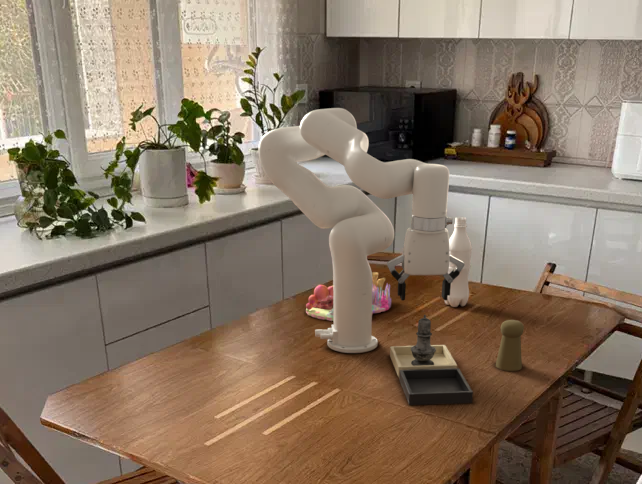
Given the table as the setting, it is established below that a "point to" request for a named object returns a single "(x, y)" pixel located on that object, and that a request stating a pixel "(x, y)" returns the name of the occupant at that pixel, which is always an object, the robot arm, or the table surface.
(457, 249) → the water bottle
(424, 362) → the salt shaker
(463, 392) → the charcoal tray
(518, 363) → the cork
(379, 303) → the candy landscape model
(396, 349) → the cream tray
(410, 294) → the table surface
